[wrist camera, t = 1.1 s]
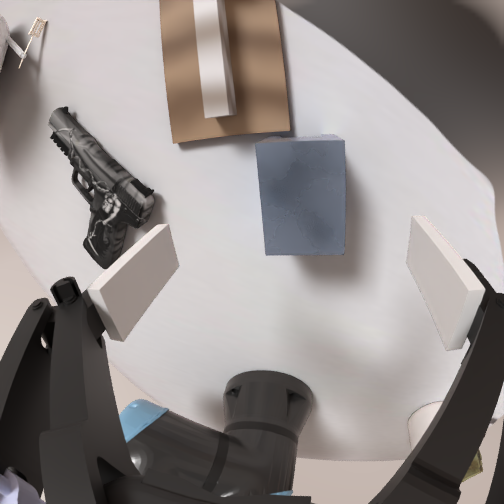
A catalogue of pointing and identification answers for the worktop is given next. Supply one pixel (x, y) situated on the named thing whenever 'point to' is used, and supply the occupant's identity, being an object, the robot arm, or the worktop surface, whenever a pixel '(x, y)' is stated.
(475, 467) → the sculpture
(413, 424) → the cup
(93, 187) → the handgun
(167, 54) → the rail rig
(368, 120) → the worktop surface
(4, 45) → the satellite
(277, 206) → the slate grey block
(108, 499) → the robot arm
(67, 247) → the worktop surface
